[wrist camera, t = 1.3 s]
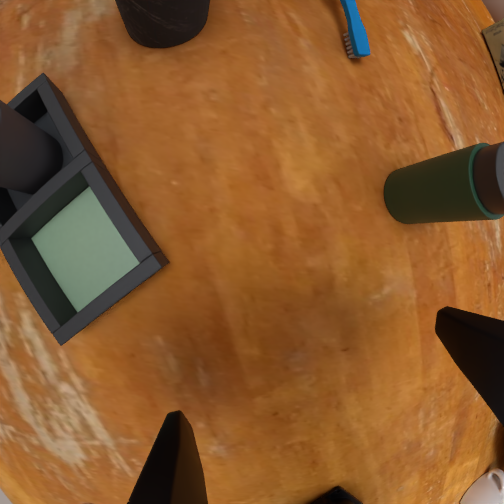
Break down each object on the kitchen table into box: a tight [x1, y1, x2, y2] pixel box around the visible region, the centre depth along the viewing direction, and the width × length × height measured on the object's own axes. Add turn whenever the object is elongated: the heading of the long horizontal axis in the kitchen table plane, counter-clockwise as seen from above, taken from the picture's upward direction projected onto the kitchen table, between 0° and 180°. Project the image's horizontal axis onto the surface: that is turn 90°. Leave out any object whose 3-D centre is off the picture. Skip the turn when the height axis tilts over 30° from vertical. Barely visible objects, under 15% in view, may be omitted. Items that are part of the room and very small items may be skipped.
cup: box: [460, 468, 504, 504], centre depth 27 cm, size 8×10×7 cm
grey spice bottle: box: [0, 100, 63, 195], centre depth 14 cm, size 5×5×11 cm
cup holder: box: [0, 73, 169, 346], centre depth 19 cm, size 17×9×4 cm, turn 35°
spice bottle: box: [384, 142, 504, 224], centre depth 19 cm, size 5×5×12 cm
